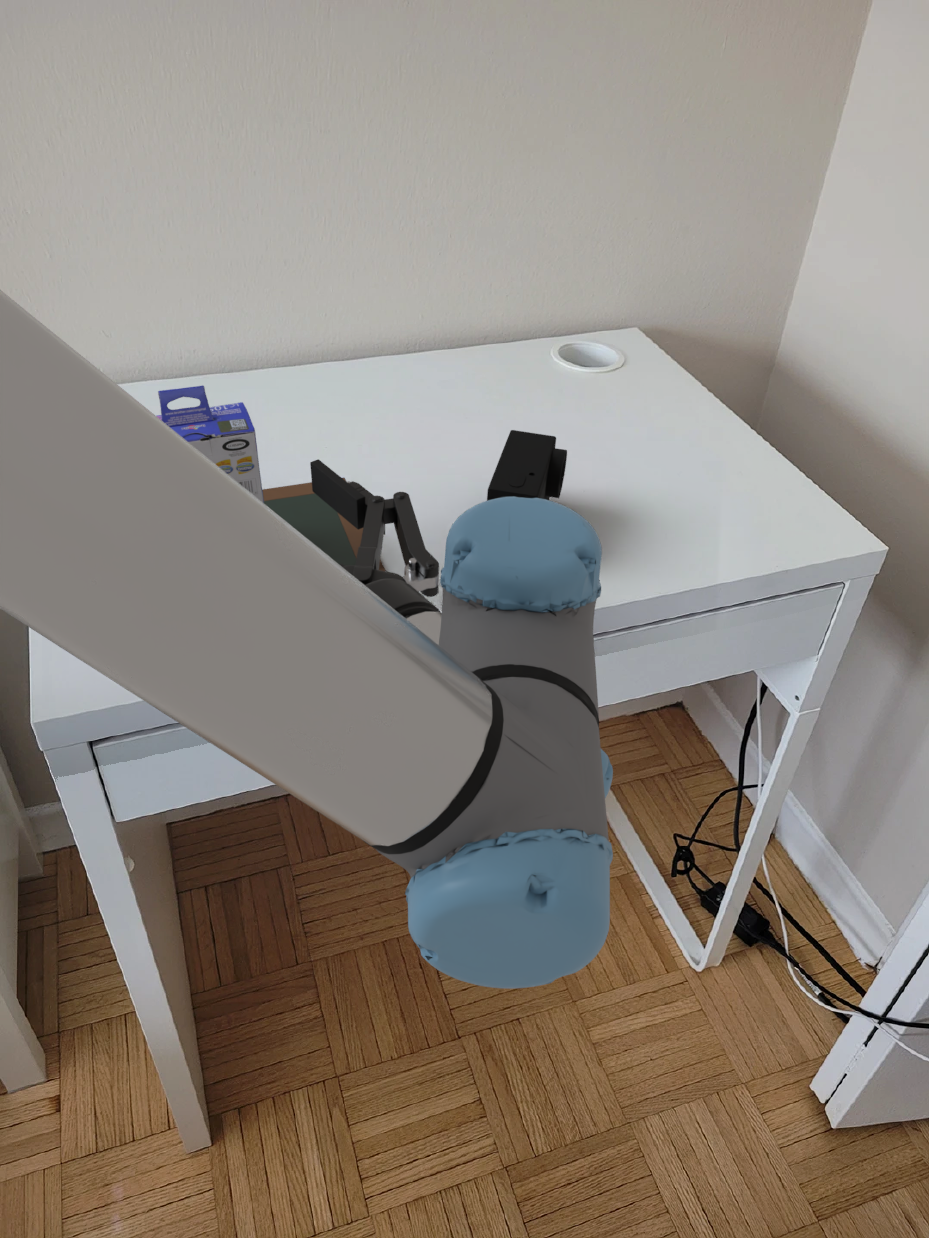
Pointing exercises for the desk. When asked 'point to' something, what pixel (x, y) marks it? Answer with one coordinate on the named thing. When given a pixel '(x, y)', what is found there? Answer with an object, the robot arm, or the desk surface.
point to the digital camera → (529, 467)
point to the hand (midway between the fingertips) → (238, 503)
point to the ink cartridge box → (217, 434)
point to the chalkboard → (316, 521)
